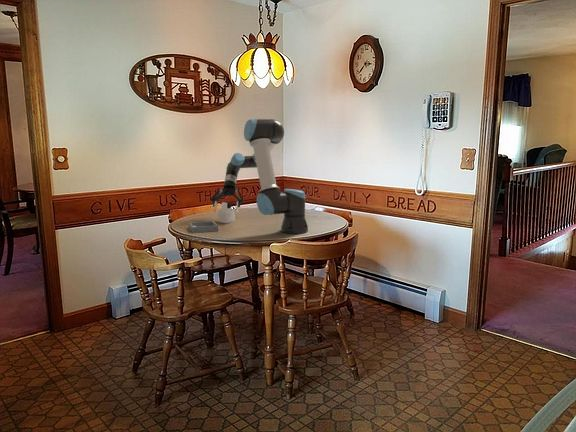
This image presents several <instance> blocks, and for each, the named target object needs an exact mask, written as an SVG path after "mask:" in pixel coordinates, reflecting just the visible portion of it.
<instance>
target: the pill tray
mask: <svg viewBox="0 0 576 432" xmlns="http://www.w3.org/2000/svg"><path fill="white" fill-rule="evenodd" d="M188 228H189V229H190V231H191V232H193V233H196V232H197V233H205V232H207V233H208V232H219V224H217V223H216V222H215V221H214V220H206V221H205V220H204V221H193V222H192V221H191V222H188ZM193 233H192V234H193ZM197 233H196V234H197Z"/></svg>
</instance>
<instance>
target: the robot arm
mask: <svg viewBox="0 0 576 432" xmlns="http://www.w3.org/2000/svg"><path fill="white" fill-rule="evenodd" d="M243 128H244V129H243V136H244V140H245V141H247V142H249V146H250V147H252V148H253V154H252V155H243V154H242V153H239V152H236V153H234V154H233V155H232V156H231V158H230V162H229V163H227V166H226V172H225V177H224V183H223V188H217V191H216V192H215V193H214V195H212V197H211V198H210V200H211V203H212V206H213V207H212V208H213V212H214V213H216V212H217V206H218V202H219V201H221V200H222V199H223V198H224V197H233V198H234V199H235V201H236V206H235V213H238V212H239V208H241V204H244V202H245V201H244V197H243V196H242V194H241V190H240V188H236V187H237V181H238V175H239V172H240V170H241V169H253V168H255V169H257V175H258V179H259V184H260V189H259V191H258V194H257V196H256V205H257V206H256V207H257V209H258V211H259V213H260V214H262V215H263V216H273V215H281V214H283V219H282V222H281V226H280V232H281V233H285V234H292V235H293V234H295V235H296V234H304V233H305V234H306V233H307V232H309V227H308V226H309V225H308V223H307V219H306V193H305V191H303V190H301V189H292V188H284V189H283V191H281V188H280V187H279V186H278V185H277V180H276V176H275V175H276V174H275V170H274V166H273V159H272V156H271V155H272V154H271V151H272V150H273V149H274V148H275V146H276V145H278V144H280V143H281V142H282V140H283V139H284V136H285V127H284V126H283V124H282V123H281V122H280V121H279V120H277V119H275V118H274V119H273V118H270V119H269V118H268V119H267V118H262V119H261V118H253V119H251V118H250V119H248V120H247V121H246V123H245V124H244V127H243ZM236 193H237V195H238V196H237V195H236Z"/></svg>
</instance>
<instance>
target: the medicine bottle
mask: <svg viewBox="0 0 576 432" xmlns="http://www.w3.org/2000/svg"><path fill="white" fill-rule="evenodd" d="M220 206H221V208H220V210H219V209H218V212H217V213H218V217H217V218H218V222H219V223H223V224H228V223H235V221H236V220H235V219H236V218H235V216H236V215H235V210H234V209H232V203H231V202H230V201H224V202H221V203H220Z"/></svg>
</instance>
